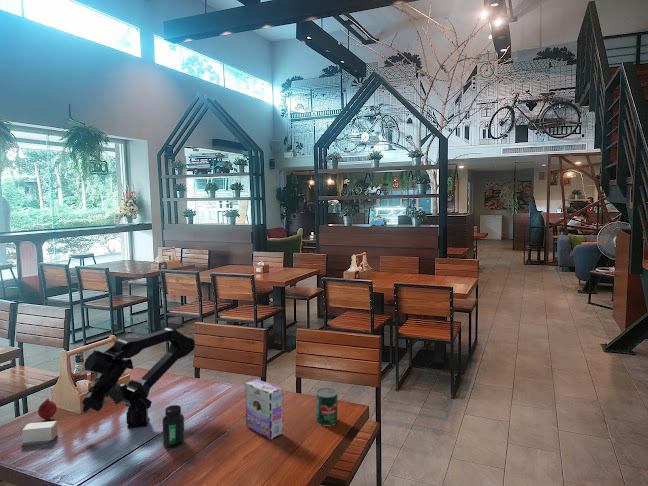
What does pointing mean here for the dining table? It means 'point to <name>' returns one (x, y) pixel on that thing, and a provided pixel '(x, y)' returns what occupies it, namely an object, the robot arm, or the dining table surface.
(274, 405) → the candy box
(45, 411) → the onion
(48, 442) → the mat
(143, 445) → the dining table surface
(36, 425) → the block
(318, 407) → the canned tomato
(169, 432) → the supplement bottle
